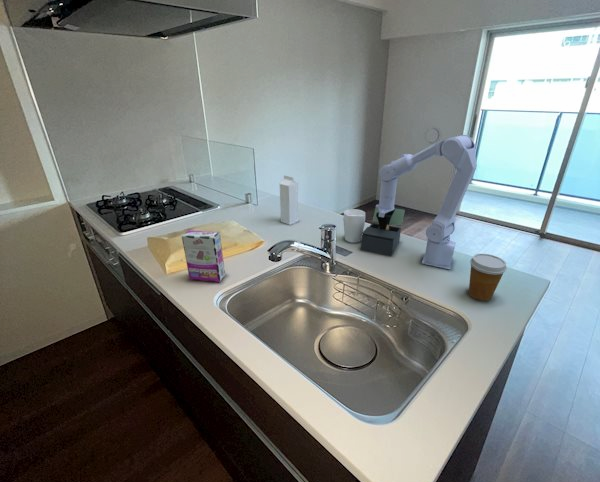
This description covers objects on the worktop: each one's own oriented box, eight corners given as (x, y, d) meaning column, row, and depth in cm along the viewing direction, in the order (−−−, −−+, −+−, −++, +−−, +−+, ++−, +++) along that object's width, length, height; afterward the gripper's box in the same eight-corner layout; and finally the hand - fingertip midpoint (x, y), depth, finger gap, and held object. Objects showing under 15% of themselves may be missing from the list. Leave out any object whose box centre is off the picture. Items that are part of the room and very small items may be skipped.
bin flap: (372, 221, 134) (372, 221, 135) (401, 225, 129) (401, 226, 130) (376, 205, 135) (376, 206, 136) (405, 209, 130) (405, 210, 131)
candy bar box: (226, 275, 110) (220, 231, 103) (220, 282, 106) (214, 237, 99) (195, 272, 112) (188, 229, 105) (188, 280, 108) (180, 235, 101)
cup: (357, 246, 130) (359, 218, 125) (338, 240, 135) (339, 213, 130) (367, 238, 136) (369, 211, 131) (348, 233, 141) (350, 207, 136)
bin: (370, 236, 138) (372, 220, 135) (399, 242, 133) (401, 225, 130) (360, 250, 127) (362, 232, 123) (391, 256, 121) (393, 238, 118)
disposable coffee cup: (460, 298, 97) (469, 263, 92) (464, 283, 104) (472, 250, 99) (496, 307, 92) (507, 271, 87) (498, 291, 100) (508, 257, 95)
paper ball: (389, 231, 131) (390, 222, 129) (386, 235, 128) (388, 226, 126) (379, 230, 132) (380, 220, 131) (377, 233, 129) (378, 224, 128)
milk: (289, 225, 151) (288, 179, 141) (280, 221, 155) (278, 176, 145) (298, 221, 155) (297, 176, 145) (289, 218, 159) (288, 174, 149)
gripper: (382, 189, 131) (378, 220, 137) (372, 199, 119) (369, 232, 125) (399, 191, 128) (395, 223, 134) (391, 202, 116) (387, 236, 122)
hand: (383, 228), depth 129 cm, fingers closed on paper ball, 4 cm apart
